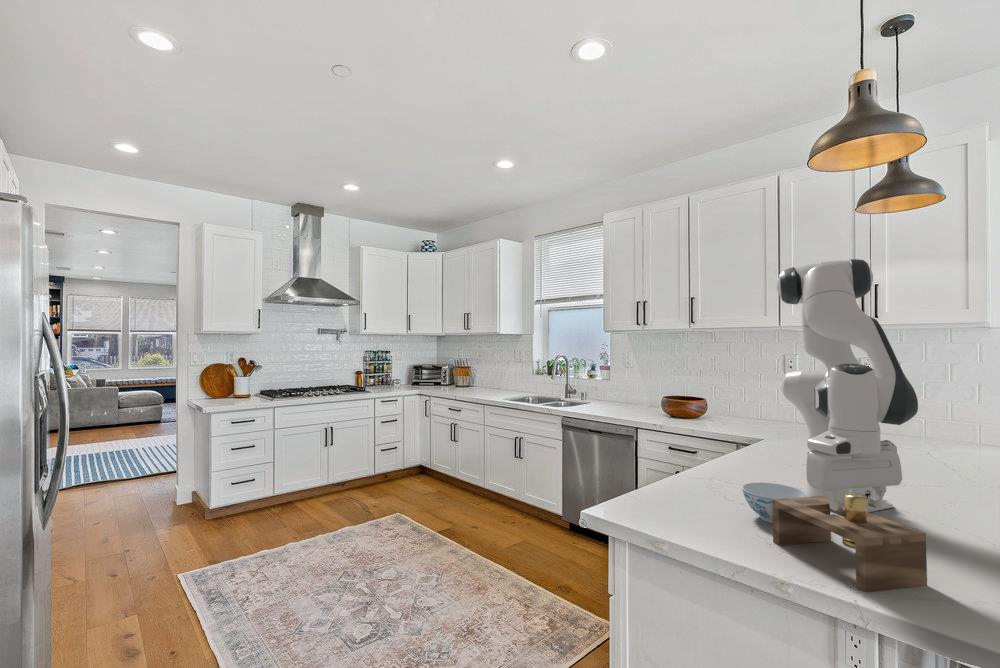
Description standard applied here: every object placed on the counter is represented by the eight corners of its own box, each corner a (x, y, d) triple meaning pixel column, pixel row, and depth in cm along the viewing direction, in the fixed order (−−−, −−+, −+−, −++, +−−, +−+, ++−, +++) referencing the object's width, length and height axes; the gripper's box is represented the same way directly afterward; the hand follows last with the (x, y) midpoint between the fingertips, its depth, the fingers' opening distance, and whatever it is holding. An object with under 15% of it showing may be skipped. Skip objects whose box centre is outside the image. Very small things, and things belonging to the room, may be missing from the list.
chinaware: (732, 509, 138) (732, 482, 138) (786, 509, 137) (786, 482, 138) (759, 529, 123) (758, 499, 123) (820, 530, 122) (819, 499, 123)
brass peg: (856, 540, 104) (855, 492, 105) (877, 549, 100) (875, 499, 100) (836, 541, 104) (835, 493, 104) (857, 551, 99) (855, 500, 99)
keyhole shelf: (773, 541, 115) (772, 499, 116) (824, 537, 118) (823, 495, 118) (865, 592, 92) (864, 538, 92) (927, 585, 94) (925, 533, 95)
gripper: (881, 436, 107) (883, 500, 107) (800, 441, 103) (801, 506, 103) (910, 442, 101) (912, 509, 101) (825, 447, 97) (826, 516, 97)
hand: (855, 508), depth 102 cm, fingers open, 8 cm apart
